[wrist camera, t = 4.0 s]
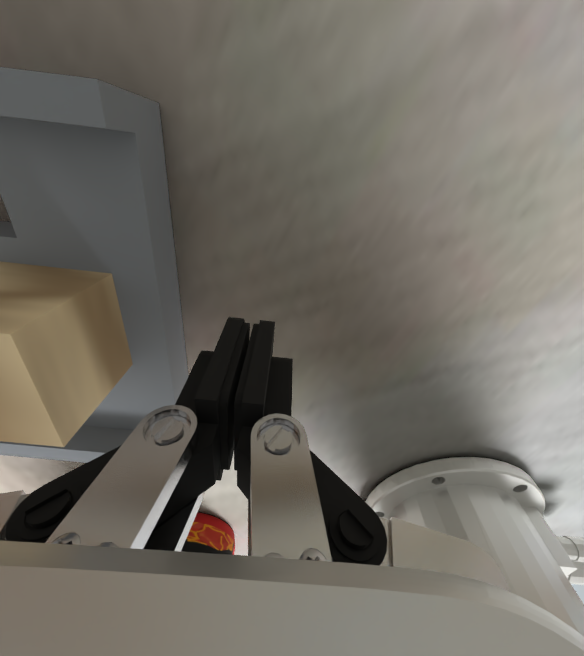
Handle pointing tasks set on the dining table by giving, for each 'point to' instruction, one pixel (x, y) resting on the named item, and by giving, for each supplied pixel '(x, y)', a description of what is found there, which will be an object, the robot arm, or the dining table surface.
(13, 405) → the block
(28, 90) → the box
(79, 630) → the robot arm
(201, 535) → the canned food
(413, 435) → the dining table surface
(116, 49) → the dining table surface
